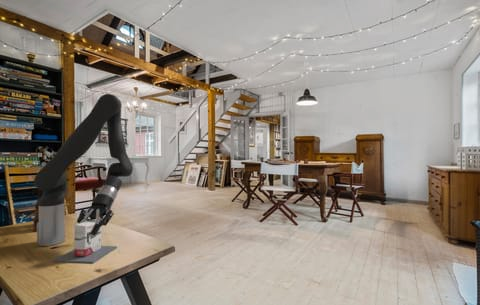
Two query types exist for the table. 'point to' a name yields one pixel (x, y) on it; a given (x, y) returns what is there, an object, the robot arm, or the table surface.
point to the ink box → (86, 239)
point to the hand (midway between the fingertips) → (85, 234)
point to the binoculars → (37, 211)
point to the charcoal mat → (87, 259)
